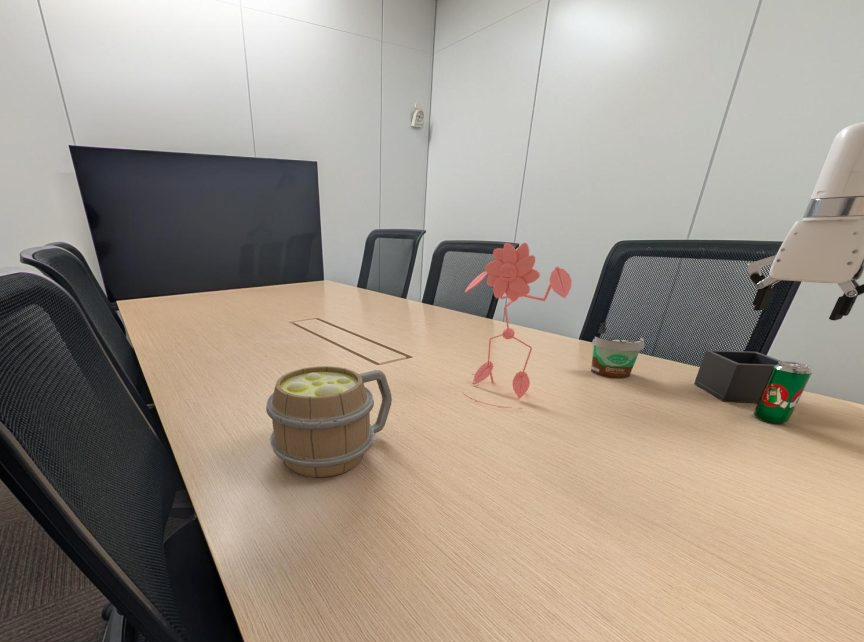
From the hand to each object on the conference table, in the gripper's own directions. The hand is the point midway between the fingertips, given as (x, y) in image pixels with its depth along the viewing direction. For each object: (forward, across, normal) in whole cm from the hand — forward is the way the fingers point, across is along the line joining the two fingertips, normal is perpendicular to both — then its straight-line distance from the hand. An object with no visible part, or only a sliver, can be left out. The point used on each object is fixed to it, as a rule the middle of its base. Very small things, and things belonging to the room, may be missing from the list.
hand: (794, 314), depth 68 cm
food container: (+22, +29, -2) cm, 37 cm away
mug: (+22, +29, +79) cm, 87 cm away
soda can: (+22, -1, -5) cm, 23 cm away
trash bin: (+22, +8, -15) cm, 28 cm away
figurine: (+22, +35, +35) cm, 54 cm away
